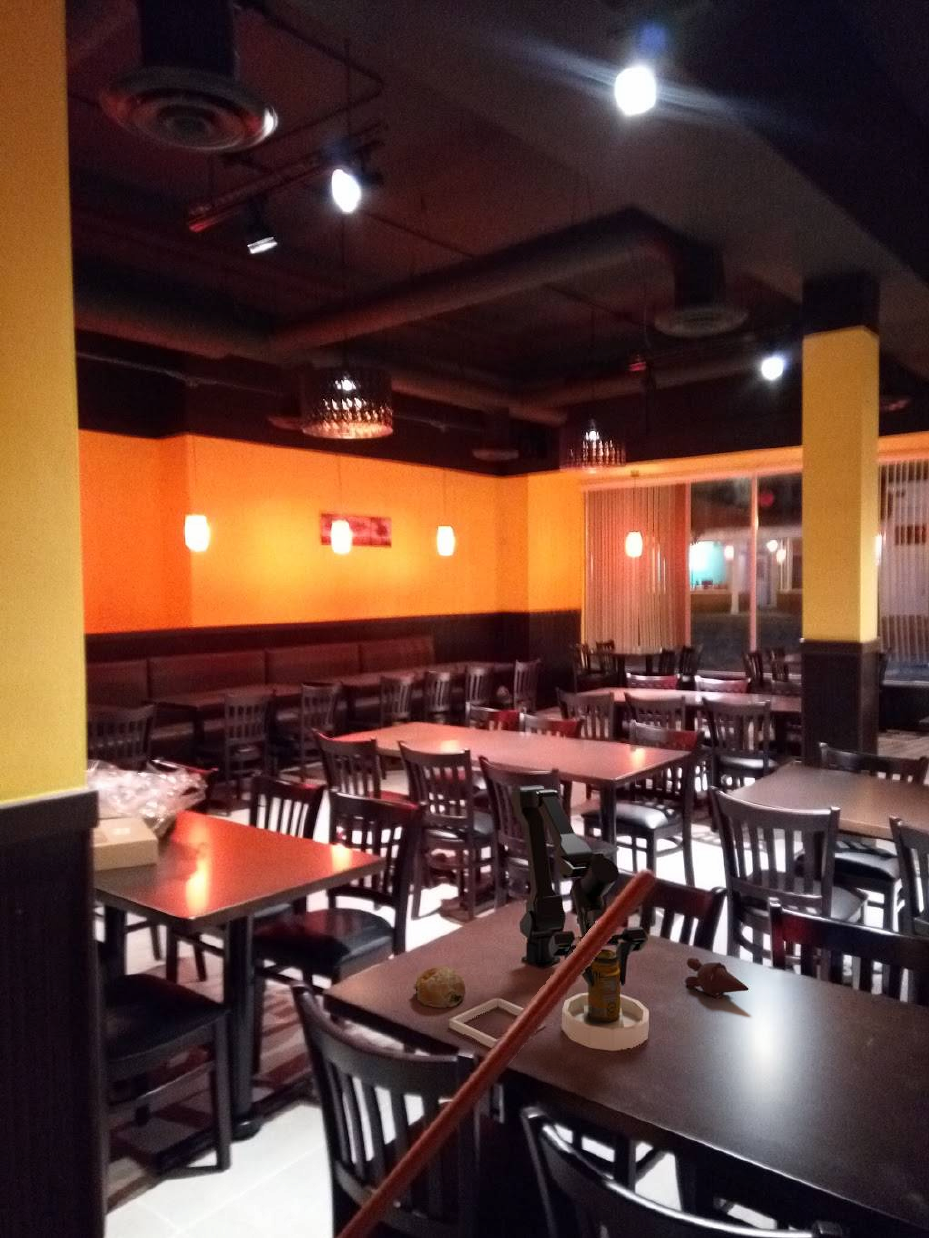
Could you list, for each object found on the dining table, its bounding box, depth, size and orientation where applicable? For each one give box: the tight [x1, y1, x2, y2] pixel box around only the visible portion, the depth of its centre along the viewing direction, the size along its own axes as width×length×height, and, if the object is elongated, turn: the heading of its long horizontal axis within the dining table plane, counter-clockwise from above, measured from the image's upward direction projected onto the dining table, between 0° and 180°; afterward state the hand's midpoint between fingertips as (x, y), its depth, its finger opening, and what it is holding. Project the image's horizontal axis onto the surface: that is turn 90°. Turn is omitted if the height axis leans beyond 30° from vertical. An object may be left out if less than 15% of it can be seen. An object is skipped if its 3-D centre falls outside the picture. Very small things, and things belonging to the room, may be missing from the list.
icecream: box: [684, 957, 750, 999], centre depth 185 cm, size 7×7×15 cm
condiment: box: [584, 948, 624, 1028], centre depth 170 cm, size 7×8×12 cm
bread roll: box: [412, 966, 466, 1009], centre depth 182 cm, size 10×10×8 cm
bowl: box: [561, 992, 650, 1052], centre depth 170 cm, size 16×16×4 cm
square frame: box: [448, 996, 547, 1049], centre depth 170 cm, size 14×13×2 cm
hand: (607, 985), depth 168 cm, fingers closed on condiment, 6 cm apart
